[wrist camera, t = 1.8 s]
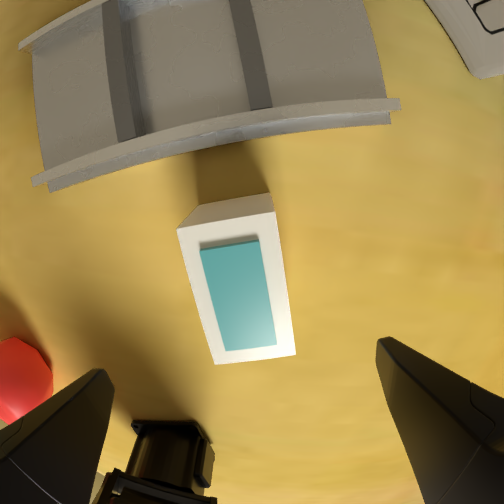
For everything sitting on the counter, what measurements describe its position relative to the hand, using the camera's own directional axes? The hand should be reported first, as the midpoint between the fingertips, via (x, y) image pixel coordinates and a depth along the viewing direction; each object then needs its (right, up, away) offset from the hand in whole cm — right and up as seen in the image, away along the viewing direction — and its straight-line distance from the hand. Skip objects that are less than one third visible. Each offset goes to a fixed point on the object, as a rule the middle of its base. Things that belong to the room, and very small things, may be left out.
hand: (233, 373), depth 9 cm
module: (0, +3, +9) cm, 10 cm away
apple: (-20, -7, +13) cm, 25 cm away
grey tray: (-3, +14, +5) cm, 15 cm away
